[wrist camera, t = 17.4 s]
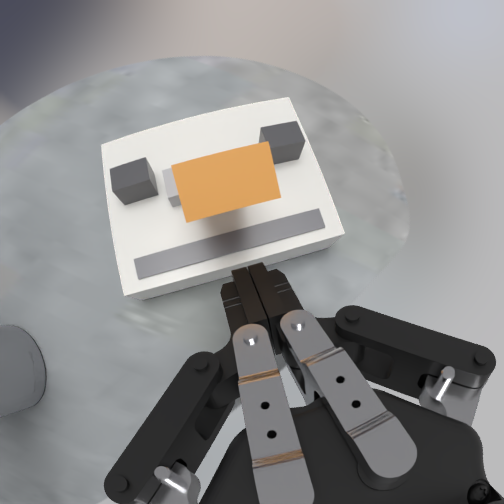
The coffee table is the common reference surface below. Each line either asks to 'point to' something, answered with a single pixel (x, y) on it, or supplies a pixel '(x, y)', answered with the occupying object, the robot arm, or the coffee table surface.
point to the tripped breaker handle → (226, 181)
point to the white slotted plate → (221, 225)
